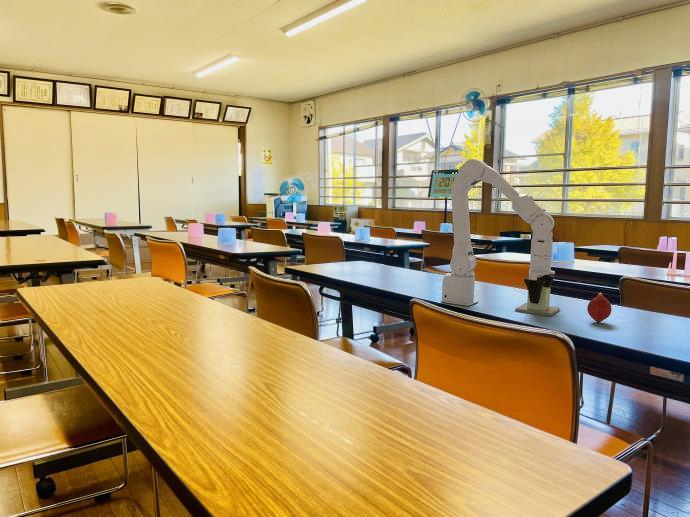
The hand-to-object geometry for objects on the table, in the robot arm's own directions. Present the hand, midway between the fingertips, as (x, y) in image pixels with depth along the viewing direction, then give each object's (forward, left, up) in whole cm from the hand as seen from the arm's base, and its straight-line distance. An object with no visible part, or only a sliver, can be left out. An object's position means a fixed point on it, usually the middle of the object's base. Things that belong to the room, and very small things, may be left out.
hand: (538, 301), depth 149 cm
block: (0, 0, -2) cm, 2 cm away
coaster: (0, 0, -3) cm, 3 cm away
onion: (+17, -4, -3) cm, 18 cm away
